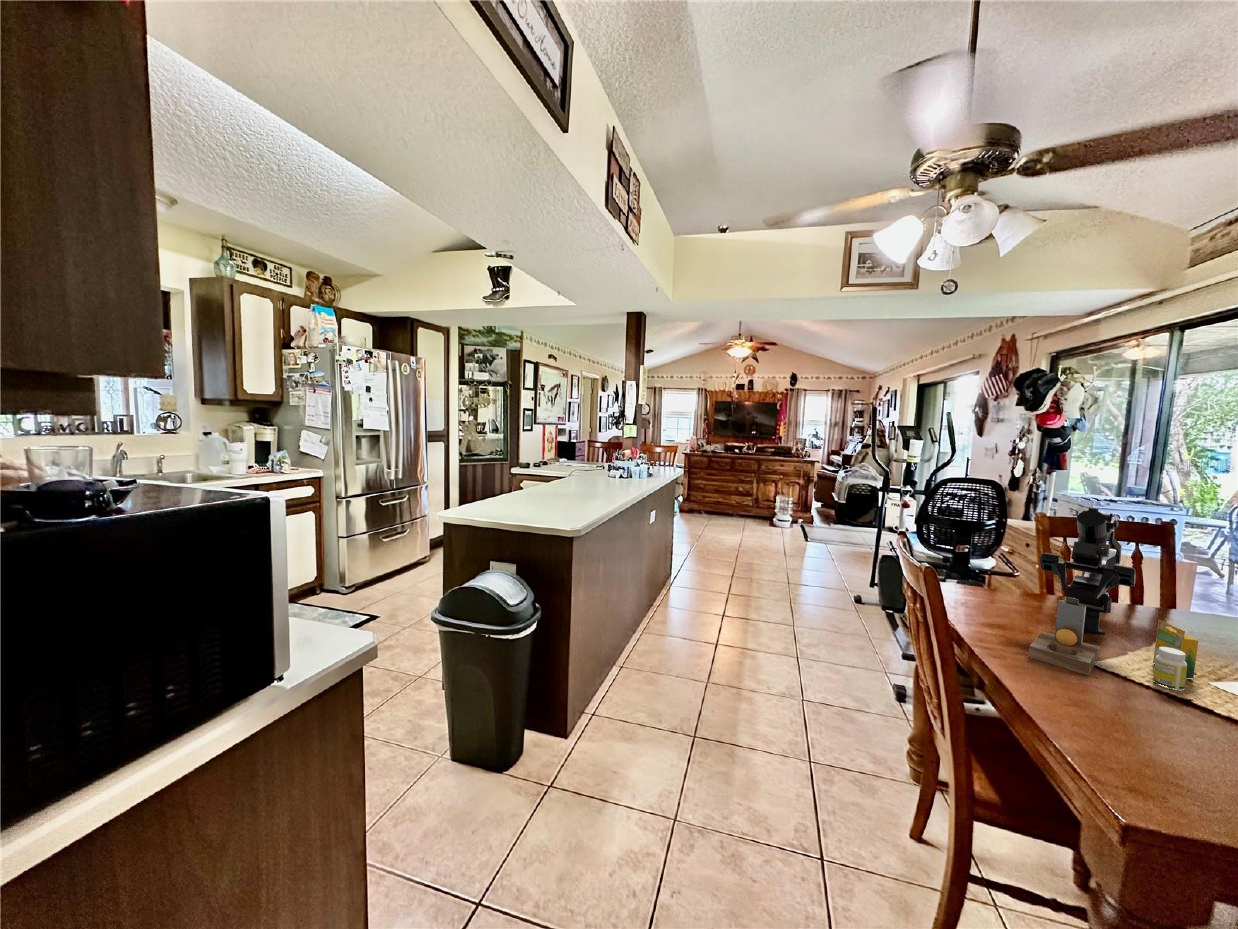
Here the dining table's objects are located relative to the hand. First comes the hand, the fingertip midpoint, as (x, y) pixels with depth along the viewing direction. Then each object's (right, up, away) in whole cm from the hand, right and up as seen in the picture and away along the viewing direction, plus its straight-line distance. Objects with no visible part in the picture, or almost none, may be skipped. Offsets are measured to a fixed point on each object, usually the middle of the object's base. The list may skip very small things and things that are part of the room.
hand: (1079, 594), depth 128 cm
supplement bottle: (+1, -16, -20) cm, 25 cm away
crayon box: (+9, -15, -14) cm, 22 cm away
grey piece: (-8, -11, -5) cm, 14 cm away
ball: (-10, -9, -7) cm, 15 cm away
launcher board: (-11, -14, -7) cm, 20 cm away
